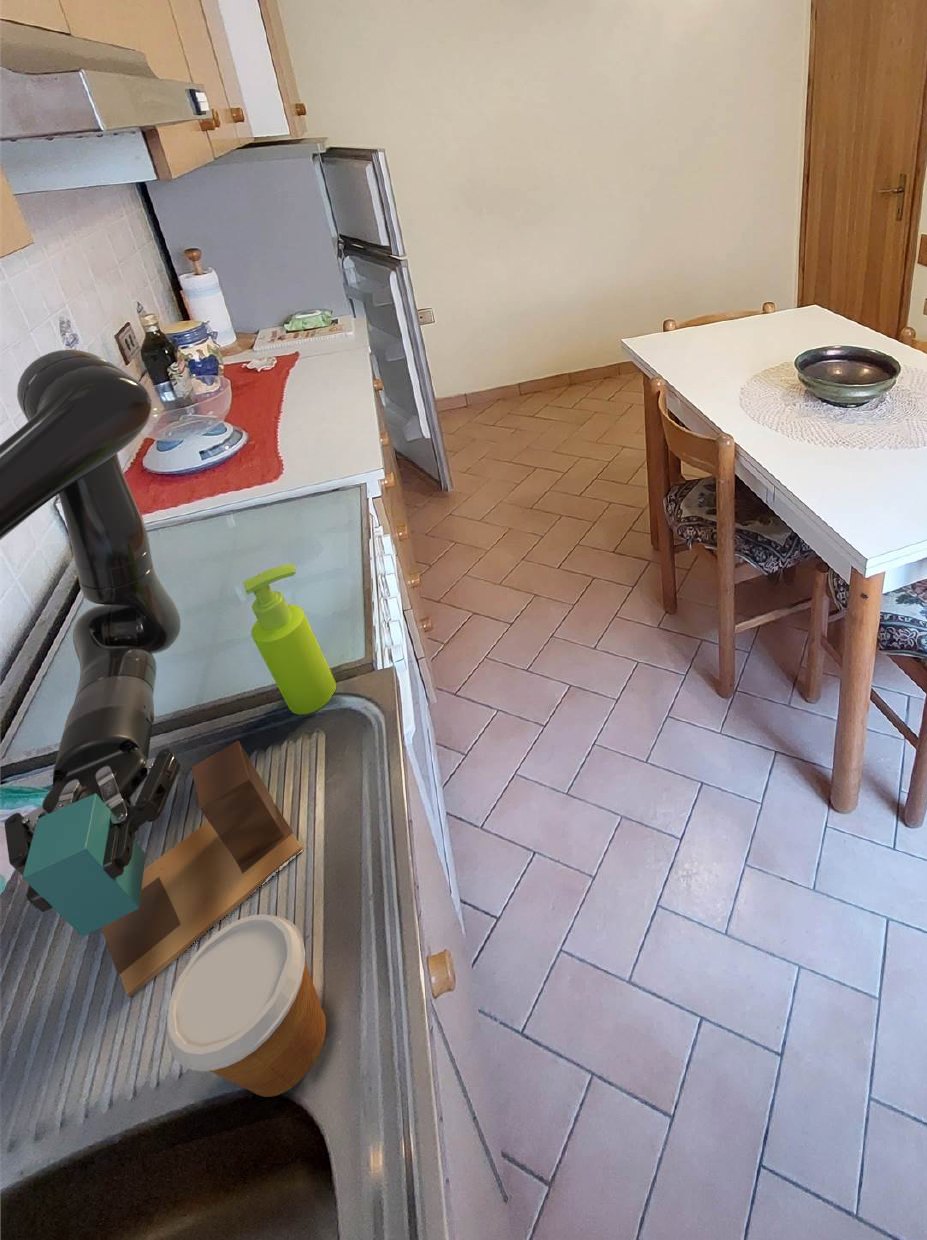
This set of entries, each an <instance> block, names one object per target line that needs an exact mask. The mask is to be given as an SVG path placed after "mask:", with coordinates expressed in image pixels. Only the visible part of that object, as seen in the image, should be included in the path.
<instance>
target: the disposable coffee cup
mask: <svg viewBox="0 0 927 1240" xmlns="http://www.w3.org/2000/svg"><path fill="white" fill-rule="evenodd" d="M303 938H304V937H303V936H302V934H301V932H300V930H299V928H298V927H297V926H296V925H295V924H294V923H293V922H292V921H291V920H288V919H287V918H286V917H284V916H278V915H273V914H272V915H270V914H254V915H253V914H252V915H249V916H246V917H243V918H240V919H237V920H235V921H233V922H231V923H229V924H228V925H226V926H224V927H223V928H222V929H220V930H219V931H217V932H216V933H215V934H214V935H212V936H211V937H210V938H209V939H208V940H207V941H206V942H204V943H203V944H202V946H201V947H200V948H198V950H197V951H196V952H195V953H194V955H192V956H191V958H190V959H189V961H188V963H187V964H186V966H185V967H184V969H183V971H182V972H181V974H180V976H179V977H178V978H177V981H176V983H175V985H174V988H173V990H172V992H171V996H170V999H169V1001H168V1006H167V1007H168V1008H167V1015H166V1041H167V1046H168V1047H167V1048H168V1049H169V1052H170V1054H171V1056H172V1057H173V1059H174V1060H175V1061H176V1062H177V1063H178V1064H179V1065H180V1066H181V1067H184V1068H187V1069H189V1070H190V1071H193V1072H203V1073H204V1072H209V1073H212V1074H214V1075H217V1076H219V1077H221V1078H223V1079H225V1080H227V1081H229V1082H231V1083H233V1084H235V1085H237V1086H240V1087H241V1088H244V1089H245V1090H248V1091H249V1092H251V1093H254V1094H255V1095H256V1096H260V1097H264V1098H267V1097H276V1096H279V1095H281V1094H283V1093H286V1092H287V1091H289V1090H290V1089H292V1088H293V1087H295V1086H296V1085H297V1084H298V1083H299V1082H300V1081H301V1080H302V1079H303V1078H304V1077H305V1076H306V1075H307V1074H308V1072H310V1070H311V1068H312V1067H313V1065H314V1064H315V1062H316V1060H317V1058H318V1056H319V1054H320V1052H321V1050H322V1047H323V1044H324V1042H325V1037H326V1036H325V1035H326V1031H327V1030H326V1029H327V1028H326V1027H327V1026H326V1025H327V1021H326V1015H325V1012H324V1010H323V1007H322V1005H321V1002H320V998H319V996H318V993H317V990H316V987H315V984H314V982H313V979H312V976H311V973H310V970H309V968H308V965H307V963H306V949H305V944H304V939H303Z"/></svg>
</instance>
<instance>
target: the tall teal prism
mask: <svg viewBox="0 0 927 1240" xmlns="http://www.w3.org/2000/svg"><path fill="white" fill-rule="evenodd" d="M110 814H111V811H110V810H109V808H108V807H107V806H106V805H105V804H104V802H103V801H102V800H101V799H100V797H99V796H98V795H97V794H93V795H91V796H88V797H86V798H84V799H82V800H79V801H77V802H75V803H73V804H70V805H68V806H66V807H63V808H61V809H59V810H57V811H54V812H52V813H50V814H47V815H45V816H43V817H41V818H38V819H37V823H36V827H35V831H34V835H33V838H32V842H31V846H30V850H29V853H28V857H27V861H26V865H25V869H24V872H23V876H22V875H21V876H22V879H23V881H25V882H26V883H27V884H28V886H29V885H30V886H31V887H32V888H33V889H34V890H35V891H36V892H37V893H38V894H39V895H40V896H41V897H42V898H44V899H45V900H46V901H47V902H48V903H49V904H50V905H51V906H52V907H53V908H52V909H54V911H56V913H58V914H59V916H61V918H63V919H64V921H66V922H67V924H69V925H70V926H71V927H72V928H73V929H74V930H75V932H77V933H78V934H79V935H80V936H81V937H82V938H83V937H85V936H87V935H88V936H89V935H90V934H92V933H93V932H96V931H97V930H100V929H102V927H104V926H106V925H108V924H109V923H111V922H113V921H115V920H117V919H119V918H121V917H123V916H125V915H127V914H129V913H131V912H133V911H135V910H137V909H139V907H140V898H141V890H142V881H143V872H144V869H145V863H146V855H147V853H146V852H145V850H144V849H143V848H142V847H141V845H139V843H138V842H137V841H136V840H135V839H134V843H133V851H132V858H131V860H130V862H129V864H128V865H127V866H125V867H124V872H123V874H122V875H120V876H118V877H116V878H114V879H111V878H110V877H109V875H108V874H107V873H106V872H105V871H104V869H103V860H104V854H105V848H106V842H107V836H108V830H109V829H110V828H112V827H113V823H112V821H111V818H110Z"/></svg>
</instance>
